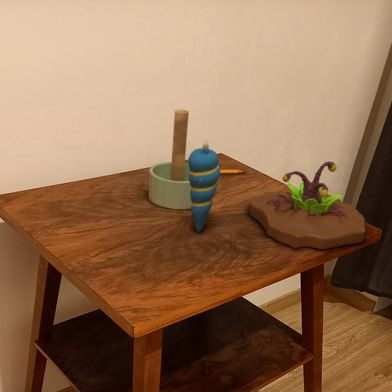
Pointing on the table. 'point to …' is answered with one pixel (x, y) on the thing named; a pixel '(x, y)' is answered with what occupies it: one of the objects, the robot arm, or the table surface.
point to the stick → (179, 145)
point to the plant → (308, 215)
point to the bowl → (169, 187)
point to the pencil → (230, 171)
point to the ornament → (202, 182)
